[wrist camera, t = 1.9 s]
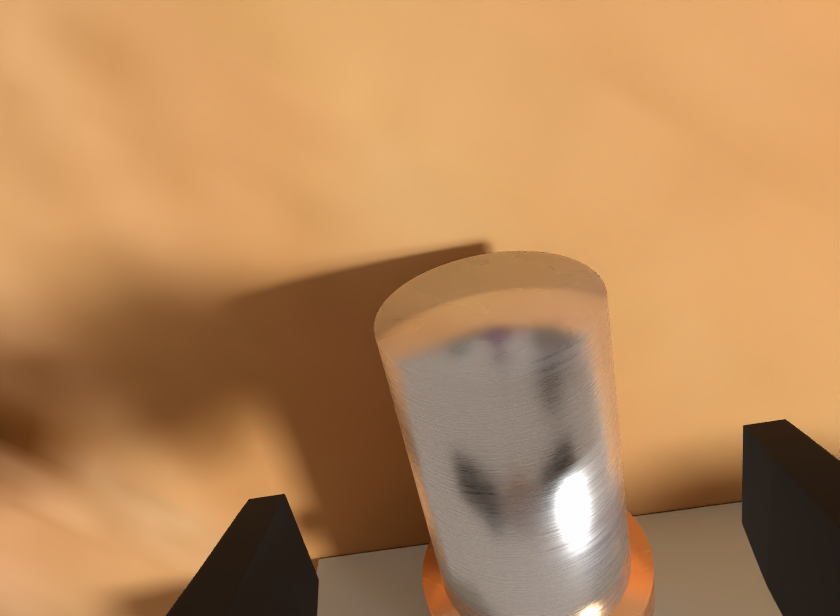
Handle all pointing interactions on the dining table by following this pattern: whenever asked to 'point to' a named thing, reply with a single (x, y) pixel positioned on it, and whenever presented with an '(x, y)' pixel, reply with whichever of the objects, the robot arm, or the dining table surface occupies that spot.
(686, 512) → the block
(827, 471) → the robot arm
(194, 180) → the dining table surface
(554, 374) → the silver copper cylinder
